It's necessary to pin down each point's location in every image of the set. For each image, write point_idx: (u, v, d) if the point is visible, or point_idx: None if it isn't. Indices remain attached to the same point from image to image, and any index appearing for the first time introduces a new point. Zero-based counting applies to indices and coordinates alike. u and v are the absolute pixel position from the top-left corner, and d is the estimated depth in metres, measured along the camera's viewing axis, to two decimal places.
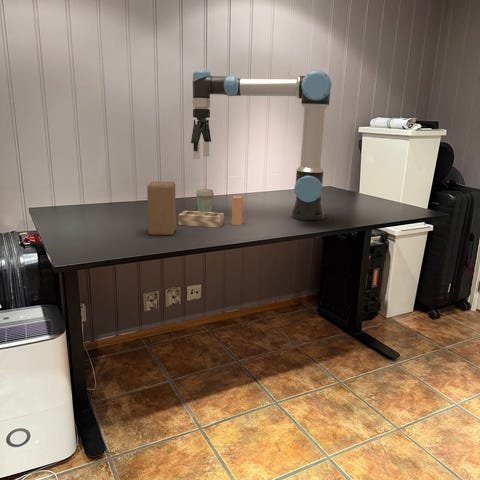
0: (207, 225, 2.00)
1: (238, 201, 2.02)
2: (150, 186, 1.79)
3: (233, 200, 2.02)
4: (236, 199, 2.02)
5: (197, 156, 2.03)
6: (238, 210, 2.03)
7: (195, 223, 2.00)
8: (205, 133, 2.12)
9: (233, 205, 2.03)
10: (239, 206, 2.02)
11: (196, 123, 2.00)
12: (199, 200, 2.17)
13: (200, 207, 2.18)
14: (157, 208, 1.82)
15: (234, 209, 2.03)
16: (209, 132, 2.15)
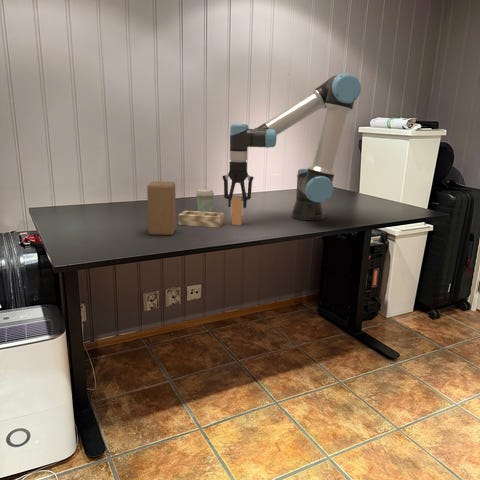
0: (207, 225, 2.00)
1: (238, 201, 2.02)
2: (150, 186, 1.79)
3: (233, 200, 2.02)
4: (236, 199, 2.02)
5: None
6: (238, 210, 2.03)
7: (195, 223, 2.00)
8: None
9: (233, 205, 2.03)
10: (239, 206, 2.02)
11: None
12: (199, 200, 2.17)
13: (200, 207, 2.18)
14: (157, 208, 1.82)
15: (234, 209, 2.03)
16: (248, 190, 2.01)
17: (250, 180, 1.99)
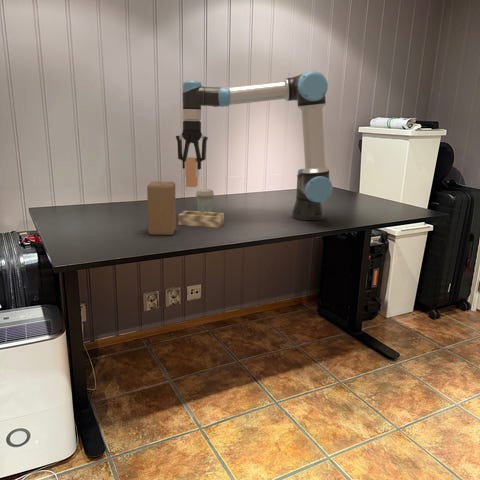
0: (207, 225, 2.00)
1: (191, 162, 1.96)
2: (150, 186, 1.79)
3: (187, 161, 1.97)
4: (190, 160, 1.96)
5: None
6: (193, 171, 1.97)
7: (195, 223, 2.00)
8: None
9: (187, 166, 1.97)
10: (193, 167, 1.97)
11: None
12: (199, 200, 2.17)
13: (200, 207, 2.18)
14: (157, 208, 1.82)
15: (188, 170, 1.98)
16: (202, 151, 1.95)
17: (204, 140, 1.94)
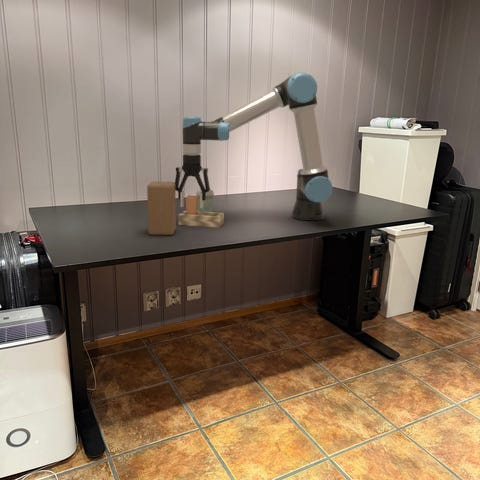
0: (207, 225, 2.00)
1: (192, 201, 2.01)
2: (150, 186, 1.79)
3: (187, 199, 2.01)
4: (190, 198, 2.01)
5: None
6: (193, 210, 2.02)
7: (195, 223, 2.00)
8: None
9: (187, 204, 2.02)
10: (193, 205, 2.01)
11: None
12: (199, 200, 2.17)
13: None
14: (157, 208, 1.82)
15: (188, 208, 2.02)
16: (205, 182, 1.98)
17: (204, 172, 1.97)
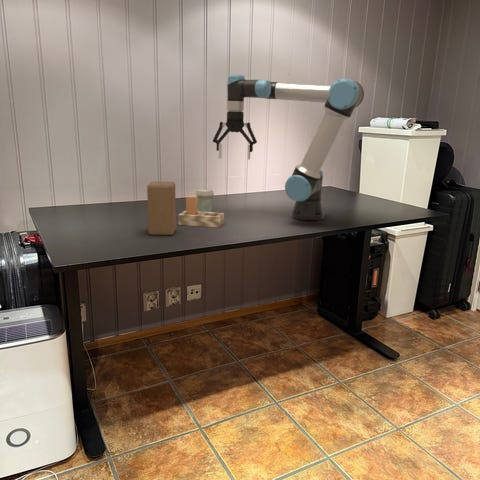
0: (207, 225, 2.00)
1: (192, 201, 2.01)
2: (150, 186, 1.79)
3: (187, 199, 2.01)
4: (190, 198, 2.01)
5: None
6: (193, 210, 2.02)
7: (195, 223, 2.00)
8: (244, 136, 2.13)
9: (187, 204, 2.02)
10: (193, 205, 2.01)
11: None
12: (199, 200, 2.17)
13: (200, 207, 2.18)
14: (157, 208, 1.82)
15: (188, 208, 2.02)
16: (251, 135, 2.11)
17: (248, 126, 2.10)
